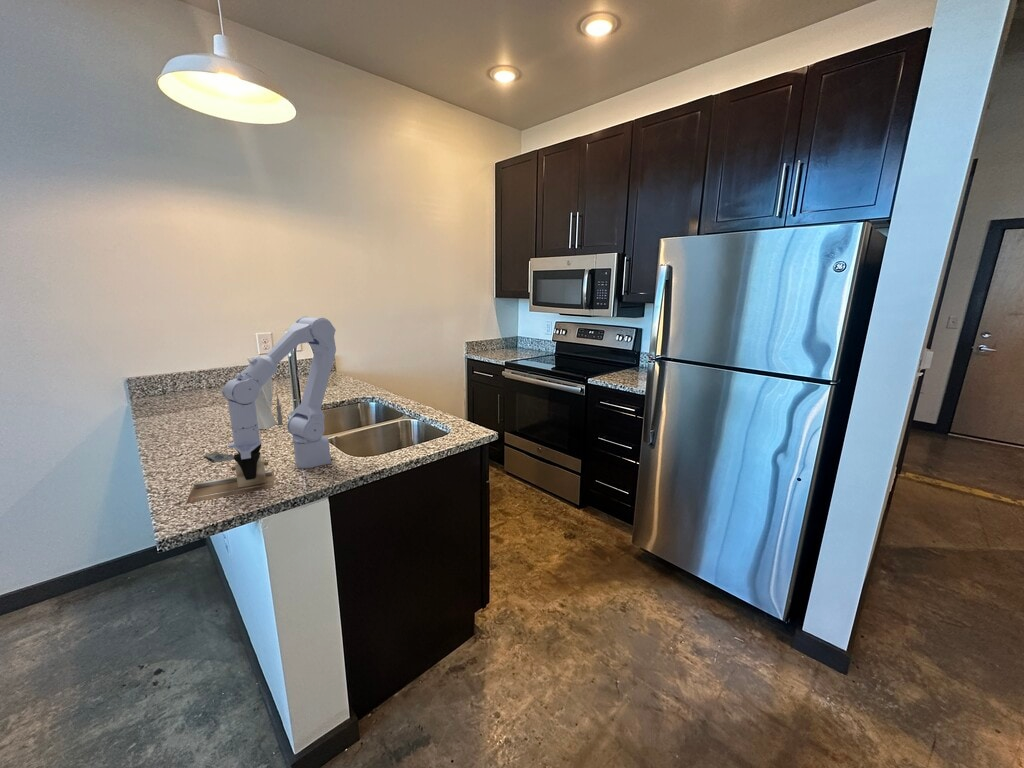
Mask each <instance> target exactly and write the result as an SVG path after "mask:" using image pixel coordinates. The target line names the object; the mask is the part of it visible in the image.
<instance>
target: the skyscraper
mask: <svg viewBox="0 0 1024 768" xmlns="http://www.w3.org/2000/svg"><path fill="white" fill-rule="evenodd" d="M257 357H258V356H248V357H247V358H246V359H247V361H248V363H249V365H250V364H251V363H250V362H249V361H250V360H251V359H252V358H255V359H256V358H257ZM249 365H248V366H249ZM273 386H274V385H273V377H271V378H270V379H269V380H268V381H267V382H266V383H265V384H264V385H263V386H262V387H261V388H260V390H259V396H258V398H257V399H255V405H256V412H257V420H258V428H259V429H267V428H271V427H272V426H275V425H277V424H278V425H283V426H284V422H283V415H282V405H280V399H279V396H278V395H279V394H276V403H277V404H276V406H275V407H276V413H277V415H276V418H277V419H276V418H275V416H274V414H273V413H274V412H273V410H272V403H273V394H274V392H273V391H274V387H273ZM276 420H277V421H276Z"/></svg>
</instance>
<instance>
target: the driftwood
mask: <svg viewBox="0 0 1024 768" xmlns="http://www.w3.org/2000/svg"><path fill="white" fill-rule="evenodd" d="M234 455H235V454H231V455H228V453H226V454H225V453H220V452H217V451H215V452H211V453H208V454H206V455H204V456H203V457H204V458H208V459H211V462H212V463H220V462H229V461H232V460H233V461H235V459H234Z"/></svg>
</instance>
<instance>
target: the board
mask: <svg viewBox="0 0 1024 768" xmlns="http://www.w3.org/2000/svg"><path fill="white" fill-rule="evenodd" d="M265 474H266V482H265V483H261V484H256V485H250V486H244V487H239V488H238V483H237V476H236V475H235V476H230V477H225V478H218V479H213V480H207V481H201V482H194V484H193V487H192V488H191V491H190V493H189V495H188V497H187V500H186V501H185V504H186V505H187V504H192V503H197V502H203V501H209V500H213V499H220V498H225V497H231V496H235V495H240V494H248V493H253V492H256V491H257V492H258V491H263V490H264V491H265V490H267V489H274V488H275V486H274V485H275V483H274V482H275V470H274V469H273V470H272V469H271V470H267V471H266V470H265Z"/></svg>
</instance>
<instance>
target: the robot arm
mask: <svg viewBox="0 0 1024 768" xmlns="http://www.w3.org/2000/svg"><path fill="white" fill-rule="evenodd" d="M335 333H336V328H335V327H334V325H333V324H332V322H331V321H330V320H329V319H327V317H326V318H325V317H309V316H301V317H298V319H296V321H295V322H294V323H292V324H291V325H290V327H289V328H288V330H287V332H286V333H284V334H283V336H282V337H281V338H280V339H279V340H278V341H277V342H276V344H275V345H274V346H272V348H270V350H269V351H268V352H267V354H266V355H263V356H261V355H260V356H256V357H257V358H250V359H249V360H250V361H248V363H249V362H250V363H251V364H250V365H247V366H246V367H245V368H244V370H243V371H241V372H240V373H239V372H238V373H237V374H236V375H235V377H236V378H233V379H230V380H228V381H227V382H226V383H225V384H224V387H223V390H222V391H221V394H222V396H223V398H224V399H226V400H227V402H228V403H227V404H228V410H229V411H228V412H229V420H230V425H231V426H230V427H231V433H232V434H231V435H232V441H233V442H231V443H228V445H227V446H228V449H234V450H235V451H236V452H237V453H235V454H233V455H234V459H235V460H234V461H235V463H236V462H237V463H238V464H239V466H240V467H241V469H242V472H243V474H244V477H245V479H246V480H250V479H255V478H256V472H257V462H258V459H259V457H260V456H261V454H262V453H261V451H260V450H261V448H262V440H261V438H260V430H259V428H258V420H257V412H256V405H255V399H257V398H258V396H259V390H260V388H261V387H262V386H263V385H264V384H265V383H266V382H267V381H268V380H269V379H270V378H273V376H274V375H275V374H276V373H277V372H278V364H279V363H280V362H282V360H283V359H284V358H285V357H287V356H288V355H289V354H290V353H292V351H293V350H294V349H296V347H298V346H299V345H300V344H306V343H307V344H308V346H310V348H311V349H312V351H313V352H314V353H313V357H312V361H311V364H310V368H309V373H308V375H307V379H306V382H305V385H304V386H305V387H304V390H303V394H302V397H301V402H300V404H299V405H298V406H297V407H296V408H295V409H294V410H293V412H292V415H291V417H290V418H288V420H287V424H286V428H287V429H286V430H287V431H288V433H289V434H291V435H292V442H293V443H292V444H293V445H292V446H293V451H294V454H293V455H294V461H295V462H294V463H295V467H296V468H298V469H299V468H300V469H308V468H310V469H311V468H313V467H318V466H323V465H328V464H331V463H332V461H331V460H332V456H331V455H332V454H331V451H330V450H331V449H330V441H329V437H328V436H327V435H325V436H323V435H324V433H325V417H326V416H325V414H324V411H323V409H322V406H323V401H324V399H325V394H326V390H327V386H328V383H329V379H330V375H331V372H332V368H333V364H334V359H335V355H336V352H337V346H336V342H335V341H336V340H335V335H336V334H335Z"/></svg>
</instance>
